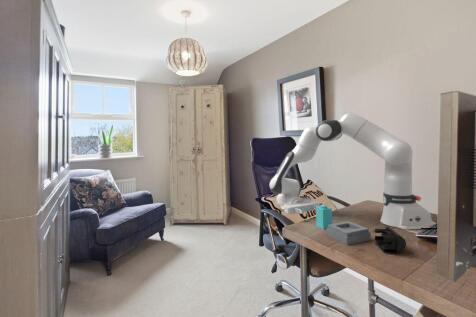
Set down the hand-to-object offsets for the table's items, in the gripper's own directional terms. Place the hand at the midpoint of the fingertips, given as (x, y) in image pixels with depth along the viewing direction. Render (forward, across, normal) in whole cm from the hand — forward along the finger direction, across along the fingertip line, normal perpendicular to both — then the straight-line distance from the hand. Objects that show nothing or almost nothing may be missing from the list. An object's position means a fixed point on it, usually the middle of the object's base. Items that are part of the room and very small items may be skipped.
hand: (310, 210), depth 132 cm
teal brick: (+10, 0, +5) cm, 12 cm away
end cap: (+40, +6, +5) cm, 41 cm away
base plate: (+26, 0, +5) cm, 26 cm away
